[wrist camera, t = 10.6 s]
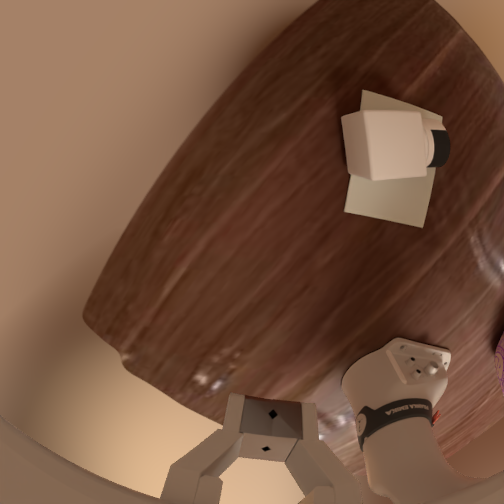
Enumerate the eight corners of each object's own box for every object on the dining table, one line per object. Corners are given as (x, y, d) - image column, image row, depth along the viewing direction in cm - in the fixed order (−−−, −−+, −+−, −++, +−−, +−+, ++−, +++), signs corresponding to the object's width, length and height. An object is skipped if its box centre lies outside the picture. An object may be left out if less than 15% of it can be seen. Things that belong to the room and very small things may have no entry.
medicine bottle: (347, 174, 32) (425, 168, 31) (371, 181, 25) (458, 175, 25) (339, 116, 29) (420, 116, 29) (363, 109, 23) (453, 113, 22)
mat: (441, 116, 28) (442, 116, 28) (421, 227, 34) (422, 228, 34) (362, 90, 29) (363, 89, 28) (343, 211, 35) (344, 211, 34)
